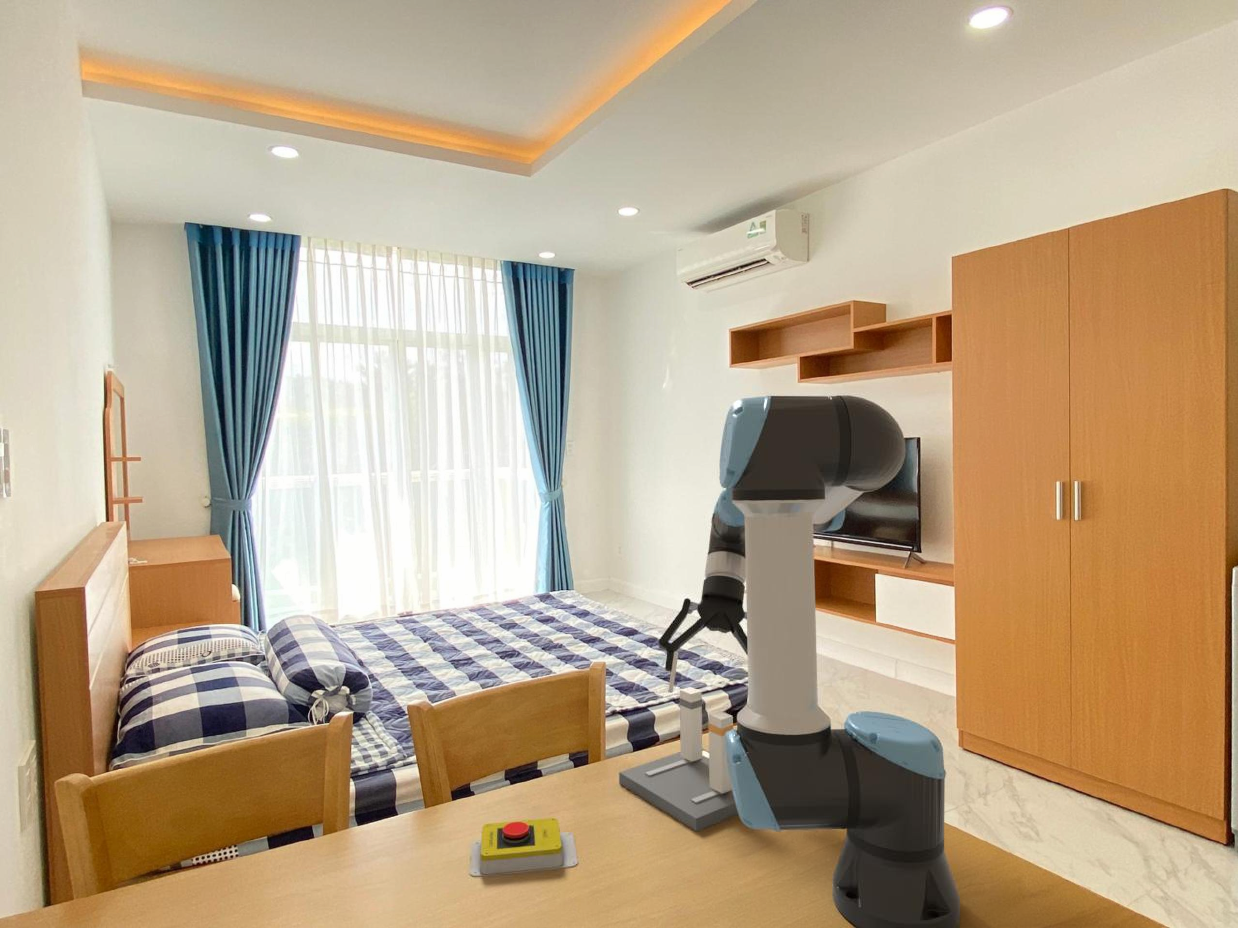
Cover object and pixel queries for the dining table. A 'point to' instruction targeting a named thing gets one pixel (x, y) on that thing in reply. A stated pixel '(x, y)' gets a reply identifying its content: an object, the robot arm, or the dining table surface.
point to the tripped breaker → (719, 751)
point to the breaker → (691, 723)
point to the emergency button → (522, 848)
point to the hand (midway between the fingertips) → (710, 698)
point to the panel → (681, 790)
